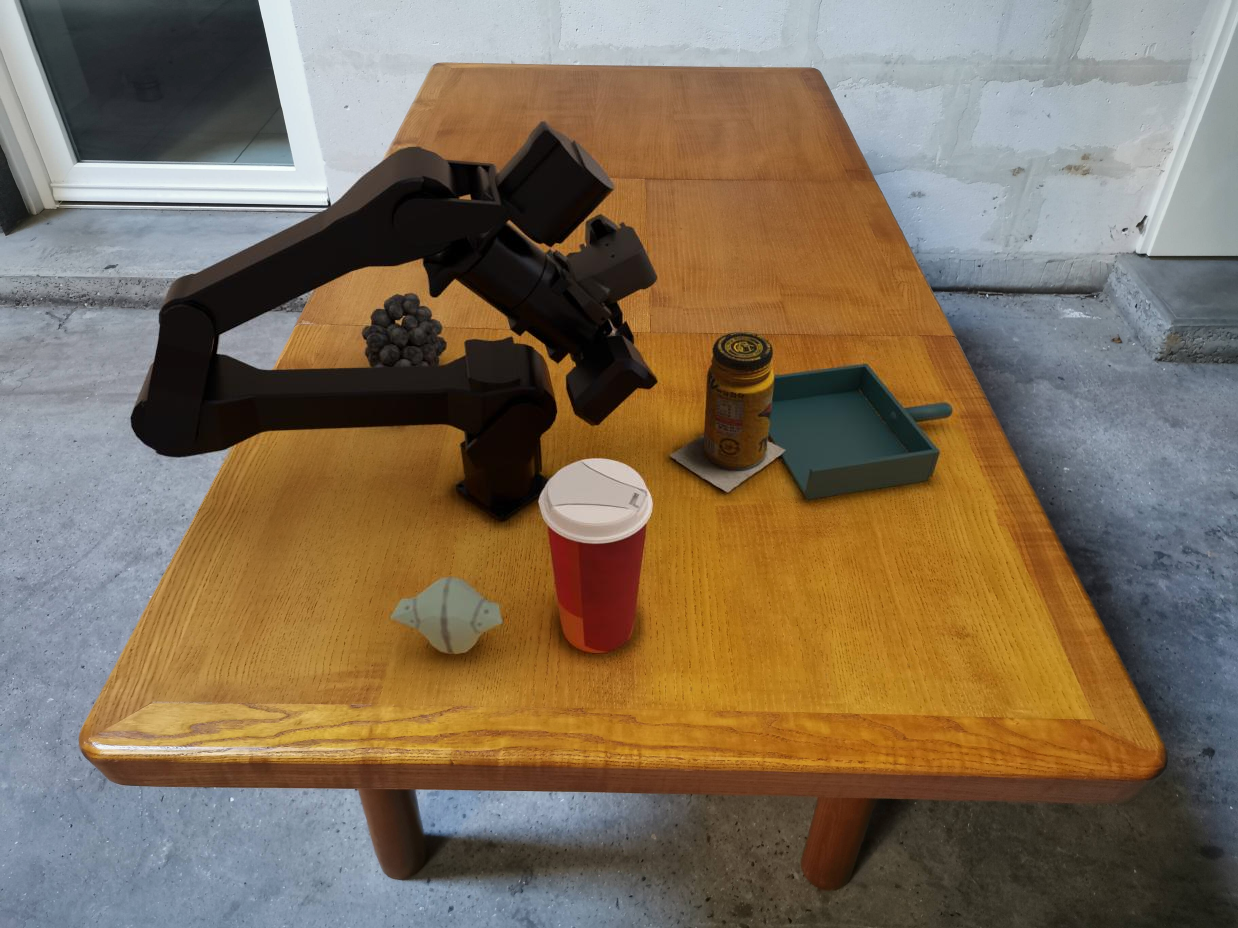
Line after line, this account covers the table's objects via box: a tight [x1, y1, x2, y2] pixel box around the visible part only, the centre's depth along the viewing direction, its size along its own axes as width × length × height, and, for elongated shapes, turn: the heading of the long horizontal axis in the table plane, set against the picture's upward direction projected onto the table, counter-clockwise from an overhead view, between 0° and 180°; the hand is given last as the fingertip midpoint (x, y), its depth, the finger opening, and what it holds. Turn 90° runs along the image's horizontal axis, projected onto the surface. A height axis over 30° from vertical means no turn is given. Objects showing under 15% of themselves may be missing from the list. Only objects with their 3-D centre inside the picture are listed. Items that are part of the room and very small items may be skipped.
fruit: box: [361, 292, 448, 367], centre depth 90 cm, size 9×8×15 cm
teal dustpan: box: [768, 362, 954, 501], centre depth 86 cm, size 18×15×3 cm
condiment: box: [669, 331, 785, 493], centre depth 80 cm, size 7×8×12 cm
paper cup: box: [538, 457, 654, 654], centre depth 64 cm, size 8×8×14 cm
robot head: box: [390, 576, 503, 655], centre depth 64 cm, size 8×4×7 cm, turn 87°
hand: (653, 383), depth 77 cm, fingers closed
